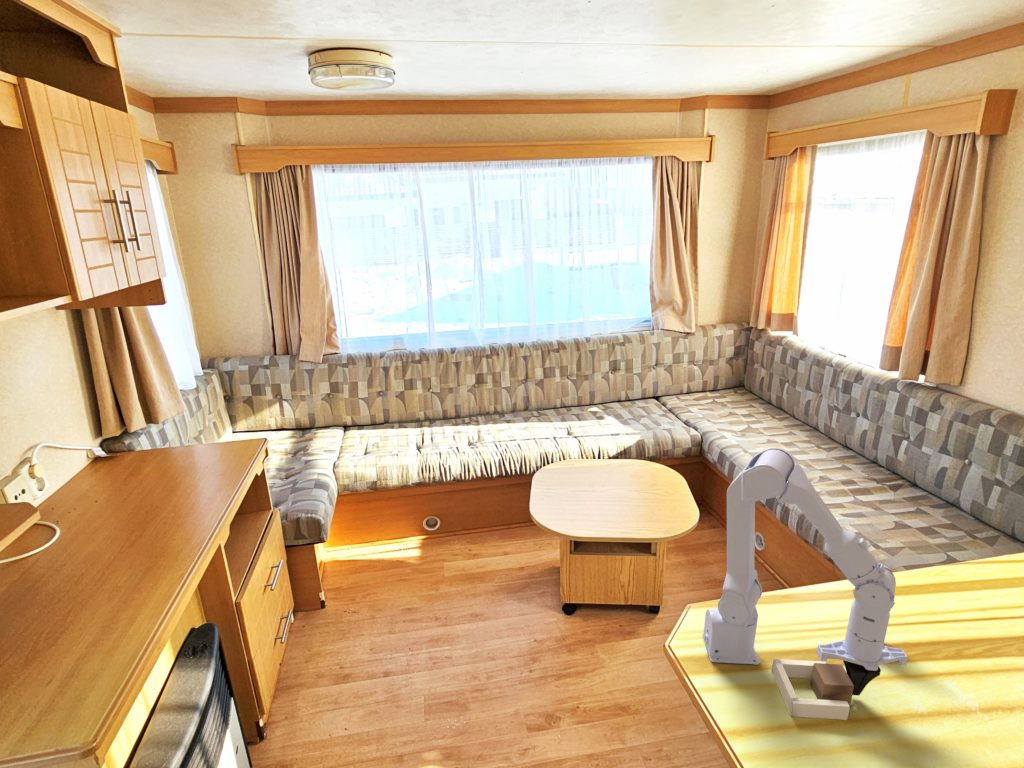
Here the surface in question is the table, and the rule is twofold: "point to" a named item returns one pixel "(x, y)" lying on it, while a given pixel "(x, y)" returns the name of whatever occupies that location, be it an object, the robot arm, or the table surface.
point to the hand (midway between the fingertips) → (853, 691)
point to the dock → (801, 705)
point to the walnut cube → (831, 682)
